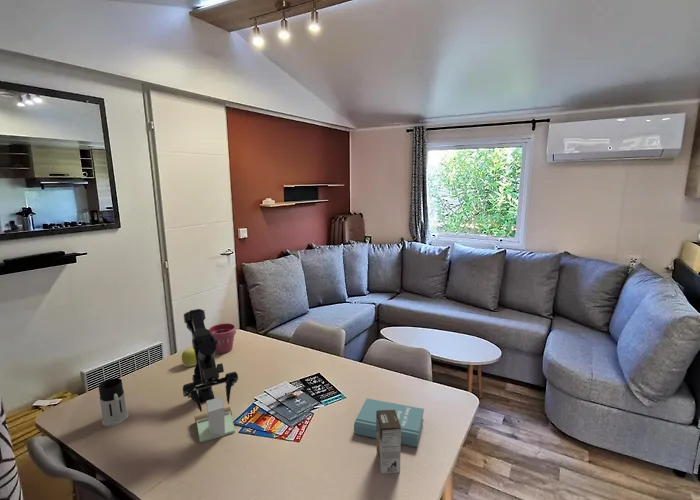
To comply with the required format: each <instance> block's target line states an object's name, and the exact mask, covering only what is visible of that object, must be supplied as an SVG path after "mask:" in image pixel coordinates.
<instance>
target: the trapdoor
mask: <svg viewBox="0 0 700 500" xmlns="http://www.w3.org/2000/svg"><path fill="white" fill-rule="evenodd" d="M231 412H232V411H231ZM231 412H230V411H229V412H226V413H224V422H225V434H222V435H219V436H215V437H212V438H210V434H209V429H208V418H205V419H201V420H198V421H197V427H198V428H197V432H198V439H199V443H204V442H208V441H210V440H213V439H218V438H220V437H223V436H227V435H230V434H233V433H235V432H236V429H235V425H234V421H233V415H232V416H231Z"/></svg>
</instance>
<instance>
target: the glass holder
mask: <svg viewBox="0 0 700 500" xmlns="http://www.w3.org/2000/svg"><path fill="white" fill-rule="evenodd" d="M98 392H99V401H100V402H99V403H100V409H101V414H102V415H101V416H102V421H101V423H102V426H106V427H111V426H110V425H112V426H116V425H118V423H119V424H120V423H122V421H123V422H124V421H126V420H127V419H126V418H128V417H129V413H128V410H127V406H126V398H125V397H126V396H125V391H124V387H123V380H122V379H121V378H117V377H116V378H115V377H114V378H109V379H106V380H105V381H102V382H101V383H99V384H98ZM125 419H126V420H125ZM115 424H116V425H115Z"/></svg>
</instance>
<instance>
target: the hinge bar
mask: <svg viewBox="0 0 700 500" xmlns="http://www.w3.org/2000/svg"><path fill="white" fill-rule="evenodd" d="M229 411H230V412H231V416H232V417H233V413H232V409H231V407H230V406H227V407H224V413H226V412H229ZM205 418H207V412H206V413H202V414H199V415H195V416H194V423H195V424H194V425H195V429H198V427H197V421H198V420H201V419H205Z"/></svg>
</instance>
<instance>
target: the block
mask: <svg viewBox="0 0 700 500" xmlns="http://www.w3.org/2000/svg"><path fill="white" fill-rule="evenodd" d="M205 402H206V413H207V418H208V429H209V434H210V438H212V437H215V436H219V435H222V434H225V422H224V408H225V407H224V403H223V398H222V396H218V397H217V398H215V397H214V399H211V400H207V401H205Z"/></svg>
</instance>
